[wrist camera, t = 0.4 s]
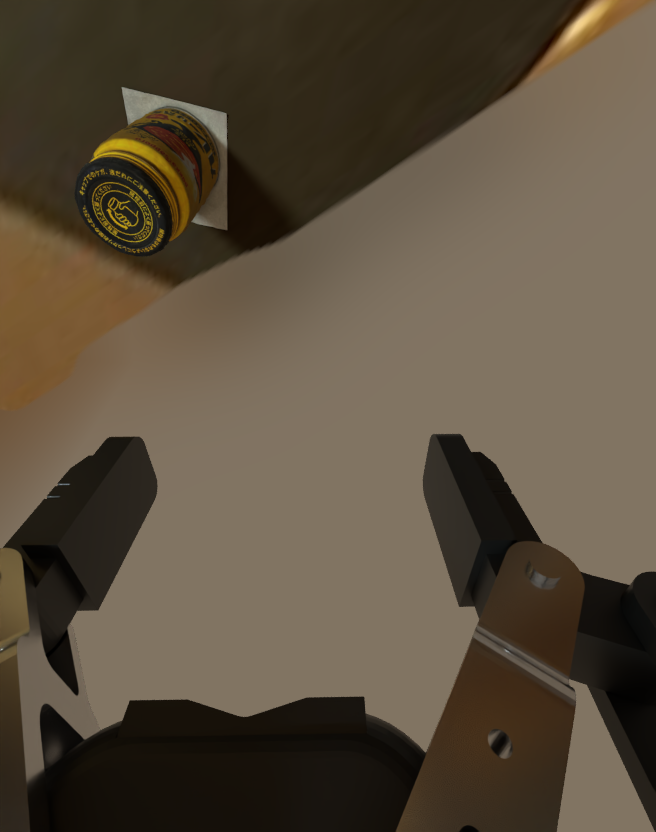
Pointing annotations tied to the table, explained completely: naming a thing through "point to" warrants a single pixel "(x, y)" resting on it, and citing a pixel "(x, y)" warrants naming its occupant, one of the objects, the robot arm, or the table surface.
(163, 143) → the condiment
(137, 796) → the robot arm
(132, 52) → the table surface
